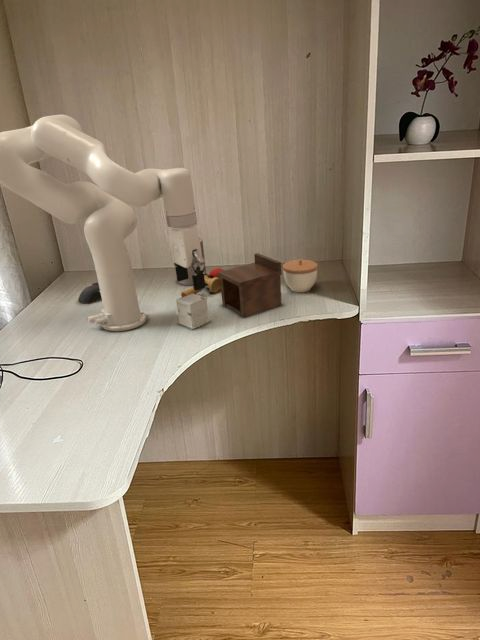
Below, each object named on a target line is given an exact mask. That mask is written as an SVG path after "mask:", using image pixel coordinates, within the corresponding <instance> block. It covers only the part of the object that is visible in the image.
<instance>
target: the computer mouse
mask: <svg viewBox="0 0 480 640" xmlns="http://www.w3.org/2000/svg"><path fill="white" fill-rule="evenodd" d="M100 300H102V298H101V293H100V288H99V284H98V282H94V283H91V284H88V286H87V287H85V288H83V290H82V291H81V293H80V294H79V297H78V299H77V301H78V302H79V303H81V304H91V303H94V302H95V303H96V302H97V301H100Z"/></svg>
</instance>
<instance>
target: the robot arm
mask: <svg viewBox="0 0 480 640" xmlns="http://www.w3.org/2000/svg"><path fill="white" fill-rule="evenodd" d="M52 157H54V158H55V159H57V160H59V161H61V162H63V163H65V164H67V165H69V166H71V167H72V168H75V169H76V170H78V171H80V172H82V173H84V174H85V175H87V176H88V177H89V178H90V180H91V181H93V183H92V182H90V181H86V180H77V181H73V182H71V183H65V182H63V181H61V180H59V179H57V178H55V177H54V176H53V175H51V174H49V173H48V172H46V171H44V170H42V169H39V168H36V167H34V166H32V165H31V164H34V163H38V162H41V161H44V160H46V159H50V158H52ZM0 185H2V186H3V187H4V188H6V189H8V190H9V191H11V192H12V193H14V194H16V195H18V196H19V197H21V198H23V199H25V200H27V201H28V202H30V203H32V204H33V205H34V206H36V207H38V208H39V209H41V210H43V211H44V212H46V213H48V214H50V215H51V216H53V217H55V218H56V219H58V220H60V221H61V222H63V223H65V224H69V225H74V224H78V223H80V222H83V221H84V220H85V222H84V225H83V227H84V228H83V234H84V238H85V240H86V243H87V246H88V248H89V251H90V254H91V256H92V260H93V266H94V269H95V274H96V278H97V283H98V284H99V288H100V293H101V302H102V306H103V308H101V309H100V312H99V313H97V314H96V315H90V316H87V321H88V324H90V325H91V324H96V325H101V327H102V328H103V330H106V331H110V332H123V331H129V330H133V329H136V328H138V327H140V326H142V325H143V324H145V323H146V322H147V319H148V318H147V314H146V312H144V311H142V310H140V309H141V308H140V305H139V299H138V293H137V287H136V282H135V275H134V270H133V265H132V260H131V256H130V253H129V250H128V248H127V246H126V243H125V239H126V238H127V237H129V236H131V235H132V233H134V231H135V229H136V228H137V224H138V220H137V215H136V213H135V211H134V210H133V208H131V206H133V207H141V208H142V207H145V206H147V205H149V204H151V203H152V202H154V201H156V200H158V199H161V198H162V202H163V206H164V213H165V219H166V226H167V237H168V248H169V254H170V260H171V261H172V262H173V266H174V267H175V268H174V270H175V274H176V280H177V282H178V281H183V280H186V279H188V271H187V268H188V267H190V269H191V271H192V273H193V275H192V280H193V285H192V287H194V290H199V289H202V290H204V289H205V288H206V287H207V286H205V279H204V269H205V268H204V265H205V266H206V261H204V259H203V258H202V252H201V246H200V241H199V238H200V237H199V232H198V227H197V226H198V219H197V218H198V217H197V211H196V205H195V196H194V188H193V182H192V175H191V172H190V170H189V169H187V168H185V167H174V168H168V169H163V168H154V167H153V168H152V167H150V168H144V169H142V170H139V171H136V172H133V171H131V170H129V169H127V168H125V167H122V166H121V165H119V164H118V163H116V162H115V161H113V160H112V159H111V158H109V156H108V155H107V153H106V147H105V145H104V143H103V142H102V141H100V140H99V139H96V138H95V137H92V136H91V135H89V134H87V133H84V132H83V129H82V126H81V125H80V123H79V122H78V121H77V120H76V119H75V118H74V117H72V116H70V115H67V114H63V113H62V114H53V115H45V116H42V117H39V118H38V119H37V120H36V121H34V123H33V125H30V126H26V127H23V128H17V129H12V130H5V131H1V132H0ZM193 262H194V263H193ZM196 266H198V267H197V268H196V270H195V268H194V267H196ZM203 288H204V289H203Z"/></svg>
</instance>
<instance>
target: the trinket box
mask: <svg viewBox="0 0 480 640" xmlns="http://www.w3.org/2000/svg"><path fill="white" fill-rule="evenodd" d="M318 269H319V264H318V263H317V261H314V260H311V259H302V258H301V259H300V258H299V259H293V260H289V261H287V262H284V263H283V265H282V270H283V271H282V274H283V279H284V282H285V284H286V286H287V287H288V288H289V289H290V290H291V291H292V292H294V293H305V292H309V291H310V290H311V288H313V287H314V285H315V284H316V282H317V279H318V271H319V270H318Z"/></svg>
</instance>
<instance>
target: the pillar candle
mask: <svg viewBox="0 0 480 640" xmlns="http://www.w3.org/2000/svg"><path fill="white" fill-rule="evenodd" d="M199 241H200V246H201V252H202V258H203V259H204V261H205V251H204V240H203V238H202V237H199ZM205 262H206V261H205ZM193 263H194V262H193ZM197 267H198V266H196V267H194V268H195V270H196V268H197ZM204 268H205V269H204V273H206V274H207V269H206V268H207V266H206V264H205V265H204ZM187 271H188V279H186V280H183V281H177V283H178V284H180V285H182V286H183V285H184V286H193V280H192V275H193V273H192V271H191V269H190V267H188V268H187Z"/></svg>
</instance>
